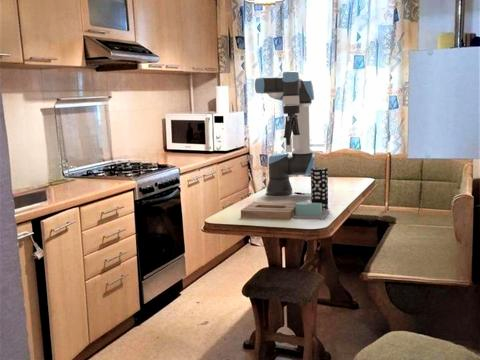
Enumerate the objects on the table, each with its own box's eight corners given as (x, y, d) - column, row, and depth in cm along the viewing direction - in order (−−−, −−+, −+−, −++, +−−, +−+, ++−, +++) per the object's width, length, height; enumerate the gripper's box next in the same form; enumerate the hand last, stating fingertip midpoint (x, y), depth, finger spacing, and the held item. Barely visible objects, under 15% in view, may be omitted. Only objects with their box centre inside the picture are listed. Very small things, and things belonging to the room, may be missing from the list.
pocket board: (253, 208, 264) (253, 201, 263) (299, 209, 256) (299, 202, 255) (240, 217, 245) (240, 210, 245) (290, 219, 238) (289, 212, 237)
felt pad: (301, 211, 253) (301, 210, 253) (329, 212, 248) (329, 211, 248) (294, 218, 240) (294, 216, 240) (324, 219, 235) (324, 218, 235)
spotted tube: (308, 207, 261) (307, 168, 258) (322, 205, 264) (322, 166, 261) (316, 210, 253) (315, 170, 250) (331, 208, 256) (330, 168, 253)
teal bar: (297, 212, 248) (297, 202, 248) (322, 213, 244) (322, 202, 244) (295, 214, 245) (295, 204, 244) (320, 215, 241) (320, 204, 240)
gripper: (289, 104, 253) (290, 147, 257) (276, 106, 230) (277, 153, 233) (304, 103, 251) (305, 147, 254) (292, 105, 227) (294, 153, 231)
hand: (292, 150), depth 244 cm, fingers open, 13 cm apart
